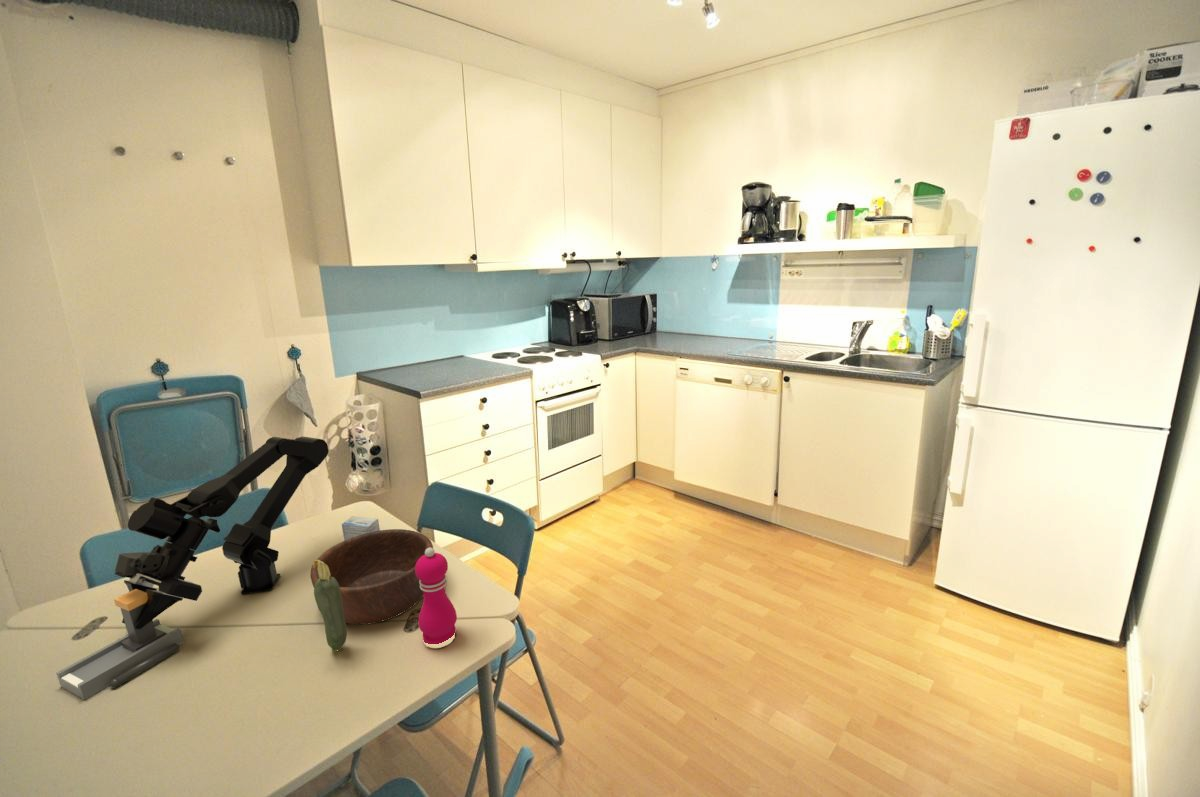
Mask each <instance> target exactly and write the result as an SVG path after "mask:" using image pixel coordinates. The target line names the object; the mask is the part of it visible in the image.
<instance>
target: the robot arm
mask: <svg viewBox="0 0 1200 797" xmlns="http://www.w3.org/2000/svg"><path fill="white" fill-rule="evenodd" d="M329 452H330V451H329V446H328V443H327V442H326V440H324V439H323V438H322V439H321V438H317V437H309V436H299V437H296V438H295V439H291V438H284V437H279V436H278V437H277V436H272V437H270V438H268V439H267V440H266V441H265V443H263V444H262V445H261V446H260V447H259V448H257V449H256V450H254V451H253V452H252V453H251V454H249V455H248V456H247V457H246V458H244V459H243V460H242V461H240V462H239V463H238V464H236V465H235V466H234V467H233V468H230V470H228V471H227V472H226V473H224V474H223V475H221V476H219V477H216V478H213V479H210V480H207V481H205V482H204V483H202V484H201V485H198V486H197V487H195V488H193V489H192V490H191V491H190V492H189V493H188V494H187V495H186V496H184V497H183V498H180V499H178V500H176V501H174V502H173V503H169V502H166V501H165V500H163V499H160V498H158V497H154V496H153V497H152V496H151V498H150V499H149V500H148V501H147V502H145V503H144V504H141V505H140V506H139V507H137V509H136V510H134V511H133V512H132V513H131V515H130V516H129V519H128V522H127V528H128V529H129V531H131V532H134V533H137V534H141V535H144V536H147V537H150V538H153V539H157V540H165V541H164V542H163V544H162V545H159V544H157V545H156V546H154V547H153V548H152V550H151V551H146V552H145V551H143V552H142V551H141V552H124V553H122V552H121V553H119V554H118V557H117V562H116V565H115V570H114V572H115V573H114V575H116V576H118V577H122V578H129V580H127V579H126V580H125V579H124V580H123V583H124V584H125V585H126V587H127V589H128V592H130V591H132V590H134V589H138V590H141V591H143V592H146V593H147V596H148V600H147V602H146V604H145V606H144V608H143V610H142V612H141V614H140V616H139V618H138V619H137V622H136V624H135V626H134V628H135V629H141V628H143V627H144V626H145V625H146V624H148V623H149V622H150V621H152V620H153V621H154V620H155V618H157V617H158V616H160V615H161V614H162V613H163V612H165V611H166V610H167V609H169V608H170V607H172V606H173V605H174V604H177V602H182V601H183V599H187V600H191V601H198V599H199V598H200V596H201V594H202V592H203V588H202V585H200V584H197V583H194V582H192V581H188V580H185V579H186V577H185V576H182V575H183V574H184V571H185V570H186V569H187V566H188V565H189V563H190V562H192V563H195V562H196V561H197V559H198V556H195V554H196V552H197V551H198V549H199V547H200V546H201V544H202V543H203V540H204V539H205V538H206V536H207V534H208V532H209V531H210V532H214V533H220V532H221V529H220V526H219V524H218V519H217V518H219V517H221V516H223V515H225V514H226V513H227V512H228V510H230V508H231V507H232V506H233V505H234V504H236V502H237V501H238V498H239V496H240V493H241V492H242V491H243V490H244V489H245V488H246V487H247V486H248V485H249V484H251V483H252V482H254V480H256V479H257V478H258V477H260V476H261V475H262V474H263V473H264V472H266V471H267V470H268V469H269V468H271V466H272V465H274V464H275V463H277V462H278V461H279V460H280V459H282V458H283V457H284V456H286V459H285V460H286V461H285V462H286V465H285V466H284V469H282V471H281V473H280V474H279V476H278V477H277V479H276V480H275V482H274V483H273V485H272V486H271V487H270V489H269V490H268V492H267V494H266V495H265V496H264V498H263V499H262V501H261V503H260V504H259V505H258V507H257V508H256V510H255V512H254V513H253V515H252V516H251V517H250V519H248V521H245V522H244V523H243V524H240V523H234V525H233V526H232V527H231V529H230V532H229V533H228V534H227V535H226V536H225V537H224V538H223V539H222V540H223V541H224V542H223V545H222V547H221V549H222V553H223V556H224V557H225V558H226V559H227V560H231V561H232V562H234V563H235V564H239V566H238V572H237V575H238V576H237V577H238V580H239V581H238V582H239V585H240V589H242V590H241V591H240V595H248V594H249V595H251V594H255V593H263V592H269V591H272V590H273V589H274V587H275V585H276V584H277V582H278V581H279V579H280V577H281V573H277V567H276V563H275V562H277V561H278V559H279V551H278V550H276V549H274V548H270V547H269V545H270V543H271V534H272V528H273V527H274V526H275V524H276V522H277V520H278V518H280V515H281V514H282V513H283V511H284V509H285V508H286V506H287V505H288V503H289V502H290V501H291V498H292V497H293V496H294V494H295V492H296V491H297V489H298V488H299V486H300V484H301V483H302V481H303V480H304V479H305V476H307V475H308V474H309V473H311V472H312V471H314V470H315V469H317V468H318V467H319V466H320V465H321V464H322V463H323V462H324V461H325V460H326V458H327V456H328V454H329ZM186 516H189V517H188V518H185V517H186ZM203 517H204V518H205V517H209V518H207V519H204V518H203ZM155 586H157V587H155ZM121 622H122V624H124V625H125V622H124V619H123V618H122V621H121Z"/></svg>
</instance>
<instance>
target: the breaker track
mask: <svg viewBox="0 0 1200 797" xmlns="http://www.w3.org/2000/svg"><path fill="white" fill-rule="evenodd" d="M153 624H154V628H156V629H158V630H160V631H163V632H165V634H166V635H164V636H163V637H161V638H159V639H157V640H156V641H154V642H152V643H150V644H148V645H147V646H145V647H143V648H141V649H140V650H138V651H136V652H134V651H132V650H130V649H128V648H126V647H124V646H122V644H121V642H122V641H124V640H126V639H128V638H129V636H128V634H127V635H125V636H122V637H121V638H119V639H117V640H115V641H113V642H112V643H109V644H108V645H106V646H103V647H102V648H100V649H98V650H97V651H94V652H93V653H90V654H89V655H87V656H86V657H83V658H82V659H80V660H77V661H76V662H74V663H72V664H70V665H69V666H66V667H65V668H63V669H61V670H58V671H57V672H56V675H57V676H56V677H57V679H58V683H59V685H60V687H61V688H62V689H64V690H66V691H67V692H69V693H71V694H73V695H75V696H77V697H78V698H79V699H82V700H83V701H86V700H88V699H90V698H91V697H93V696H94V695H96V694H98V693H99V692H101V691H103V690H104V689H106V688H108V687H110V688H112V689H113V688H117V687H120V686H121V685H123V684H125V683H126V682H129V681H130V680H131V679H133V678H134V677H136V676H138V675H139V674H142V673H143V672H145V671H146V670H148V669H149V668H152V667H153V666H155V665H156V664H157V663H159V662H161V661H163V660H164V659H166V658H168V657H170V656H171V655H173V654H174V653H177V652H178V651H179V650H180V647H179V645H180V643H181V644H182V643H184V642H185V641H184V637H183V633H182V630H181V629H182V628H180V627H177V628H175V629H174V628H171V627H168V626H166V625H164V624H161V621H160V619H158V618H156V619H153ZM92 695H93V696H92Z"/></svg>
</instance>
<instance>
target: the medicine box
mask: <svg viewBox="0 0 1200 797" xmlns="http://www.w3.org/2000/svg"><path fill="white" fill-rule="evenodd" d="M379 522H380V521H379V518H374V517H364V516H354V515H353V516H351V517H349V518H348V519H346V520H345V521H344V522H342V523H341V529H342V530H341V531H342V536H343V541H345V540H347V539H350V538H352V537H355V536H358V535H362V534H365V533H369V532H374V531H380V530H381V529H380V524H379Z"/></svg>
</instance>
